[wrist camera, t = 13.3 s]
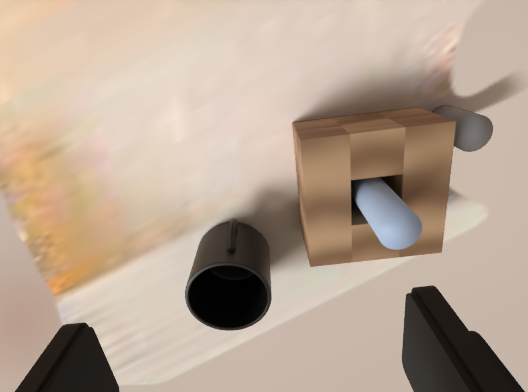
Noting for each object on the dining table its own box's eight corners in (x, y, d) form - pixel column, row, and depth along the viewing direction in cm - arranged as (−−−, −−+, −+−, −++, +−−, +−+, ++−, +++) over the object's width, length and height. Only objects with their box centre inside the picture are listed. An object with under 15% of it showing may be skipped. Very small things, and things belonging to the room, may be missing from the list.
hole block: (292, 122, 38) (300, 140, 30) (417, 107, 37) (456, 121, 30) (301, 230, 43) (310, 266, 36) (410, 217, 43) (441, 252, 35)
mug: (273, 205, 42) (277, 243, 33) (266, 282, 47) (267, 333, 38) (198, 200, 41) (183, 238, 33) (198, 279, 46) (185, 329, 38)
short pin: (427, 107, 37) (457, 117, 32) (460, 103, 37) (495, 112, 32) (425, 139, 39) (453, 153, 33) (456, 135, 38) (489, 149, 33)
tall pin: (339, 160, 39) (378, 214, 27) (370, 157, 39) (423, 209, 27) (340, 188, 41) (377, 251, 28) (369, 185, 41) (420, 247, 28)
